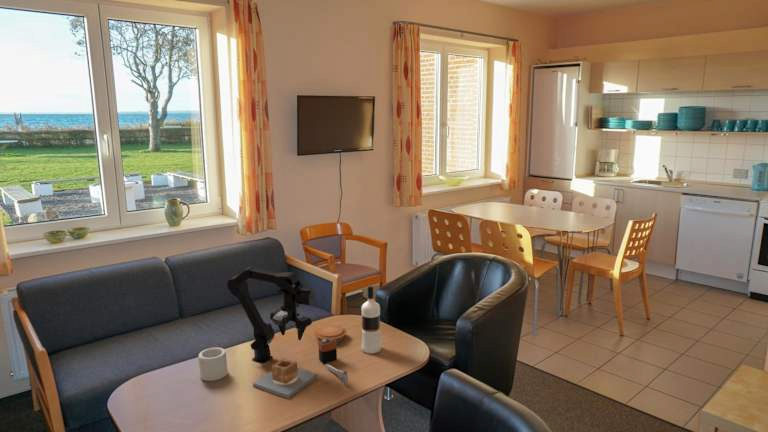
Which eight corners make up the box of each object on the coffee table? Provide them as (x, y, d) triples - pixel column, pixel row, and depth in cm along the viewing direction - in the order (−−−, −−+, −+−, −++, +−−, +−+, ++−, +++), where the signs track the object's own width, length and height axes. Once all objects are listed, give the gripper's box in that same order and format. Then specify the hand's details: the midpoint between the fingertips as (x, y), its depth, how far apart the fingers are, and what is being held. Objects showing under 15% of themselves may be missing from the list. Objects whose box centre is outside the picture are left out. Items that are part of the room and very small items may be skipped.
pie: (338, 348, 238) (338, 338, 237) (308, 343, 243) (307, 333, 242) (351, 335, 252) (351, 325, 251) (323, 330, 257) (322, 321, 256)
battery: (318, 360, 227) (317, 339, 225) (333, 356, 230) (332, 335, 228) (322, 364, 223) (322, 342, 221) (337, 360, 226) (336, 339, 224)
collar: (272, 379, 207) (271, 365, 206) (284, 371, 213) (283, 358, 212) (286, 384, 204) (285, 369, 203) (297, 376, 210) (297, 362, 209)
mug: (232, 374, 215) (230, 352, 213) (208, 384, 208) (206, 361, 206) (215, 364, 225) (213, 342, 222) (192, 373, 217) (190, 351, 215)
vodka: (367, 356, 230) (365, 291, 224) (357, 348, 238) (356, 285, 232) (385, 351, 234) (384, 287, 228) (375, 343, 242) (374, 282, 236)
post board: (253, 386, 206) (252, 372, 205) (283, 367, 221) (282, 353, 220) (288, 398, 197) (287, 384, 196) (317, 377, 212) (316, 364, 211)
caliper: (348, 387, 205) (348, 372, 204) (346, 387, 205) (345, 373, 203) (326, 365, 222) (326, 352, 221) (324, 366, 222) (323, 352, 221)
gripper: (259, 304, 217) (261, 339, 220) (293, 313, 207) (295, 350, 210) (278, 296, 226) (280, 330, 229) (311, 304, 216) (313, 339, 219)
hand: (291, 337), depth 222 cm, fingers open, 9 cm apart
